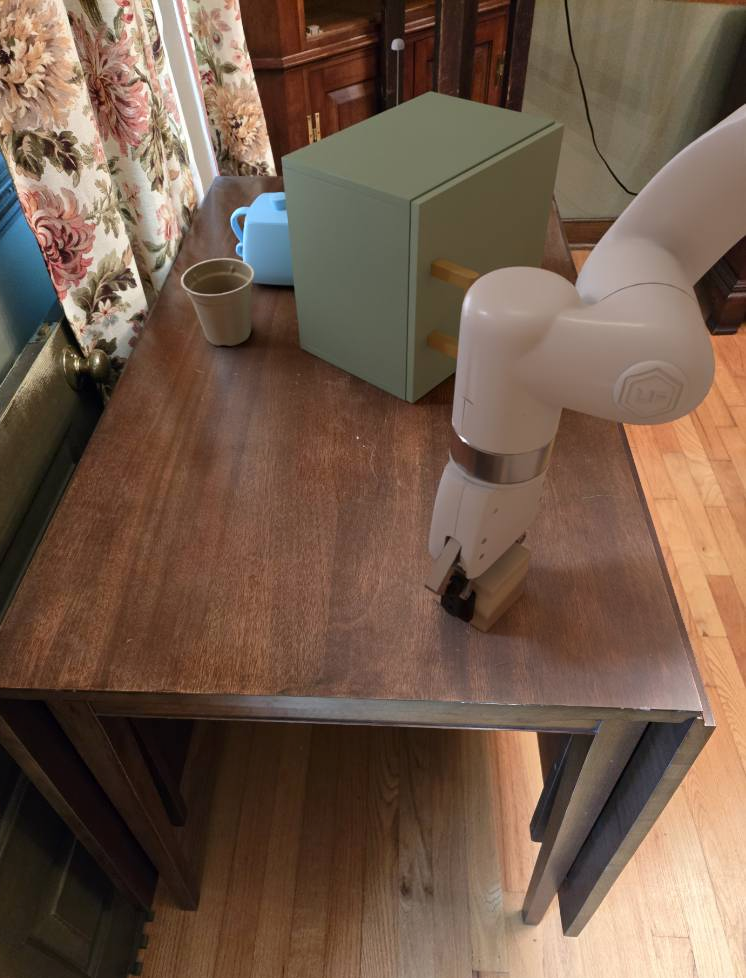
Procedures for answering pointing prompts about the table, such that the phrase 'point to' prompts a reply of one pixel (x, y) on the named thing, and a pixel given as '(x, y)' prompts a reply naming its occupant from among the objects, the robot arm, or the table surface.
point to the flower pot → (221, 298)
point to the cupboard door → (473, 246)
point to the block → (497, 586)
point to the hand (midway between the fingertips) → (478, 589)
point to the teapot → (266, 239)
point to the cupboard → (378, 222)
